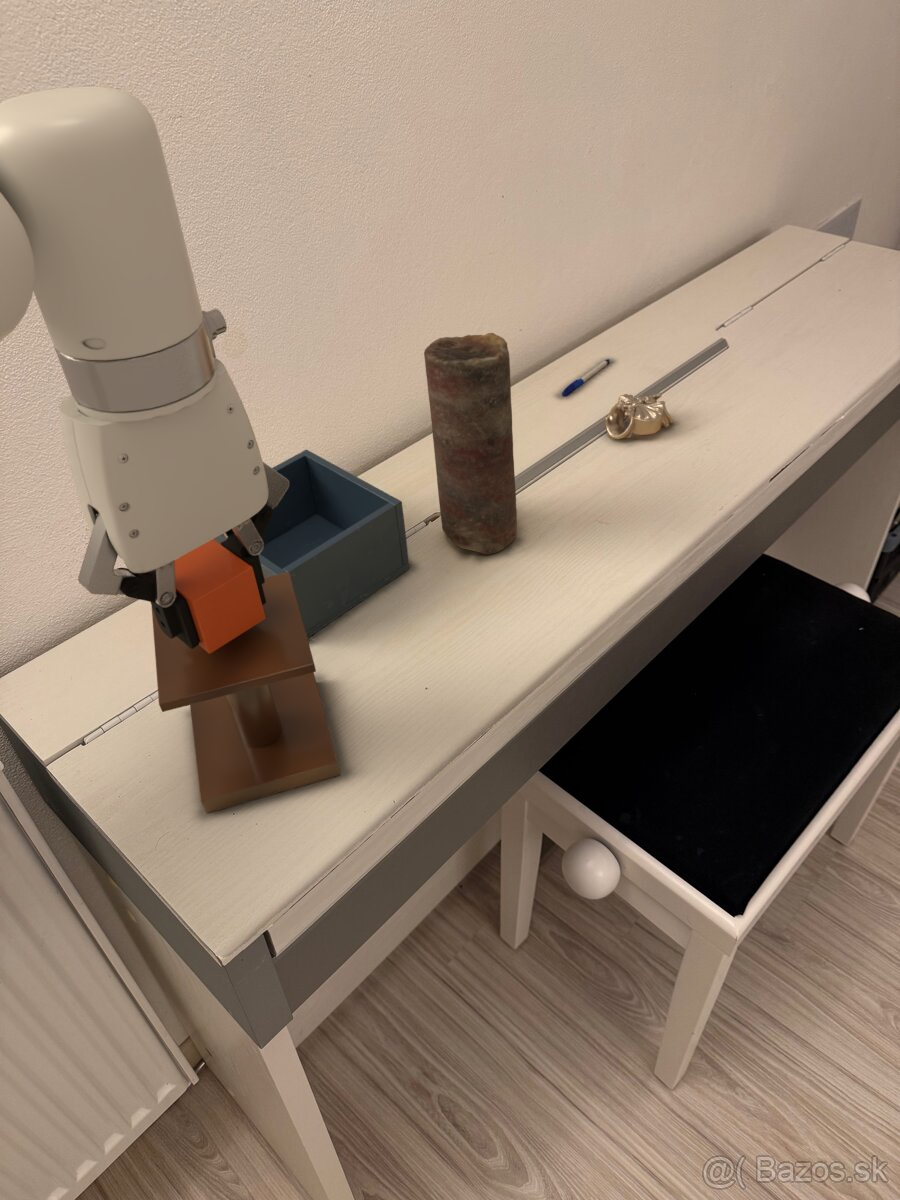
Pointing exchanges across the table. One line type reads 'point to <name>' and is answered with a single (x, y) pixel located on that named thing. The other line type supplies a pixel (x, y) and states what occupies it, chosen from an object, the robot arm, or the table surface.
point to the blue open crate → (332, 538)
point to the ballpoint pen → (584, 378)
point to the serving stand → (251, 705)
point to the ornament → (637, 416)
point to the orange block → (218, 594)
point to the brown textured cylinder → (473, 439)
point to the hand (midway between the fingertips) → (216, 614)
